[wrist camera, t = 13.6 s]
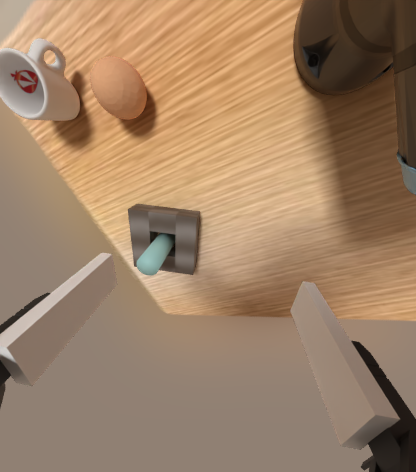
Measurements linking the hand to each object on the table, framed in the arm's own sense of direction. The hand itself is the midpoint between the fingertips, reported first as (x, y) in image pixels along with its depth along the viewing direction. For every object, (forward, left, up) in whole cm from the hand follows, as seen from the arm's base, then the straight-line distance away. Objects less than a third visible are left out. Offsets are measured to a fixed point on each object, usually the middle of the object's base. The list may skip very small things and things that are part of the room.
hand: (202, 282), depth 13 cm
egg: (-15, -17, -27) cm, 35 cm away
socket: (+11, -11, -27) cm, 31 cm away
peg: (+11, -11, -27) cm, 31 cm away
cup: (-15, -29, -27) cm, 42 cm away
